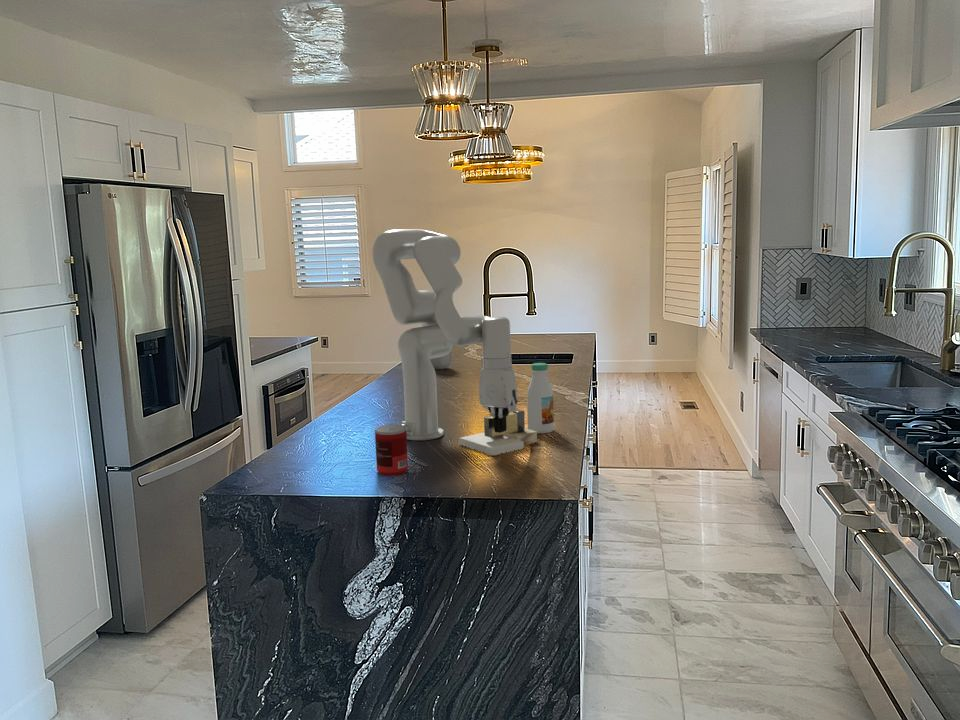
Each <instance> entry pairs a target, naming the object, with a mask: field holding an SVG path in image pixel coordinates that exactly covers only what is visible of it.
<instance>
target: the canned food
mask: <svg viewBox="0 0 960 720" xmlns="http://www.w3.org/2000/svg"><path fill="white" fill-rule="evenodd" d="M374 438H375V439H374V441H375V442H374V443H375V456H376V457H375V461H376V470H377V473H378V474H379V475H382V476H387V477H392V476H393V477H394V476H400V475H403V474H405V473H407V471H408V467H409V466H408V465H409V462H408V440H407V434H406V427H405V426H402V425H401V424H386V425H381V426H378V427H376V428H375V429H374Z"/></svg>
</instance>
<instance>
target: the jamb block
mask: <svg viewBox="0 0 960 720" xmlns="http://www.w3.org/2000/svg"><path fill="white" fill-rule="evenodd" d="M503 436H507V437H510V438H514V439H517V440H521V441H523V442H524V446H526V445H525V444H527V445H530V444H529V443H531V444H535V442H536V443H537V442H538V433H537V432H536V431H533V430H529V429H528V428H525V431H523V432H511V433H506V434H503Z"/></svg>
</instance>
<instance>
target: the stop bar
mask: <svg viewBox="0 0 960 720" xmlns="http://www.w3.org/2000/svg"><path fill="white" fill-rule="evenodd" d="M525 418H526V417H525V410H522V409H521V410H519V409H518V410H516V411H513V412H510V413H509V414H508V416H506V424H507V427H506V428H507V430H506V431H504V432H501V433H498V432H495V429H494V417H492V415H489V416H486V417H483V422H484V423H483V424H484V425H483V426H484V430H483V431H484V432H483V433H485V436H487V437H492V436H497V435H501V434H506V433H511V432H523V431H525V429H526V427H525V426H526V424H525V423H526V421H525Z"/></svg>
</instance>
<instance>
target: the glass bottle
mask: <svg viewBox="0 0 960 720" xmlns="http://www.w3.org/2000/svg"><path fill="white" fill-rule="evenodd" d="M430 361H431V363H432V365H433V367H434V370H445V369H447V368H448V367H449V366H450V364H451V362H452V350H451V351H450V352H449V353H448V354H447V355H445V356H441V357H436V358H432V359H430Z"/></svg>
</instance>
